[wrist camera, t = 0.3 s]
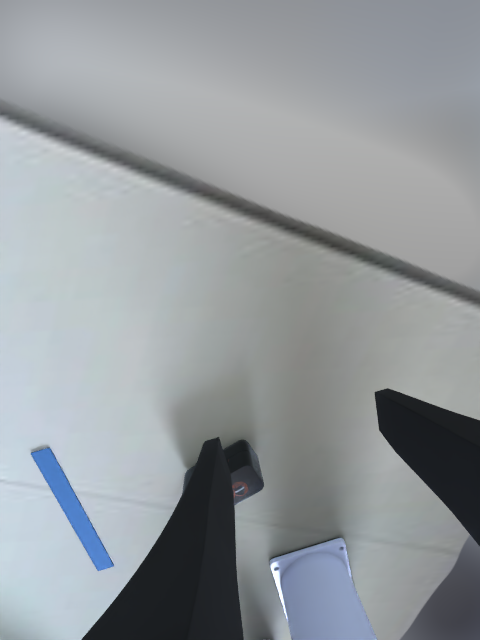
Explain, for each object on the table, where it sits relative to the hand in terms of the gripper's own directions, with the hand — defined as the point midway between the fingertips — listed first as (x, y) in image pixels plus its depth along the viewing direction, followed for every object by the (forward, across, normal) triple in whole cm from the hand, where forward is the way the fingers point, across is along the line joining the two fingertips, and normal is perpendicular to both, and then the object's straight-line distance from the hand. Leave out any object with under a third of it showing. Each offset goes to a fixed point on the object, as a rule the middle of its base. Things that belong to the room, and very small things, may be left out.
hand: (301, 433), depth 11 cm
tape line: (+10, +19, +10) cm, 24 cm away
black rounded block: (+10, +6, +10) cm, 16 cm away
